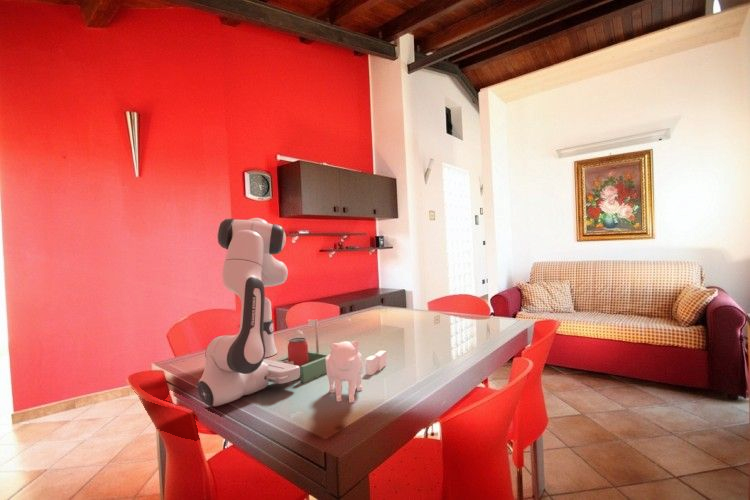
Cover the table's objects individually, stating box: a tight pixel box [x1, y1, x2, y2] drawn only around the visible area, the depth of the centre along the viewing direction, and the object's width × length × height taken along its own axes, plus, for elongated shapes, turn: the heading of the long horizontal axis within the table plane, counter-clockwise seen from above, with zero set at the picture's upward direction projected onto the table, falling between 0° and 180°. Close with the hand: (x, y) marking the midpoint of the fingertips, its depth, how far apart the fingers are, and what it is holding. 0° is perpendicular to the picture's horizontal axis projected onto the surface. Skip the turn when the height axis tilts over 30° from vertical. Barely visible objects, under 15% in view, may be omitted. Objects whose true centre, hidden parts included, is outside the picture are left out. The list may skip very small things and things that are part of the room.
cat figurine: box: [325, 340, 365, 403], centre depth 102 cm, size 25×10×17 cm, turn 9°
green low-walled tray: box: [275, 319, 330, 383], centre depth 123 cm, size 14×14×17 cm
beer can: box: [287, 337, 309, 379], centre depth 120 cm, size 7×7×12 cm
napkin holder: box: [364, 350, 388, 376], centre depth 123 cm, size 15×11×6 cm
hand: (290, 362), depth 118 cm, fingers closed, pressing on beer can
